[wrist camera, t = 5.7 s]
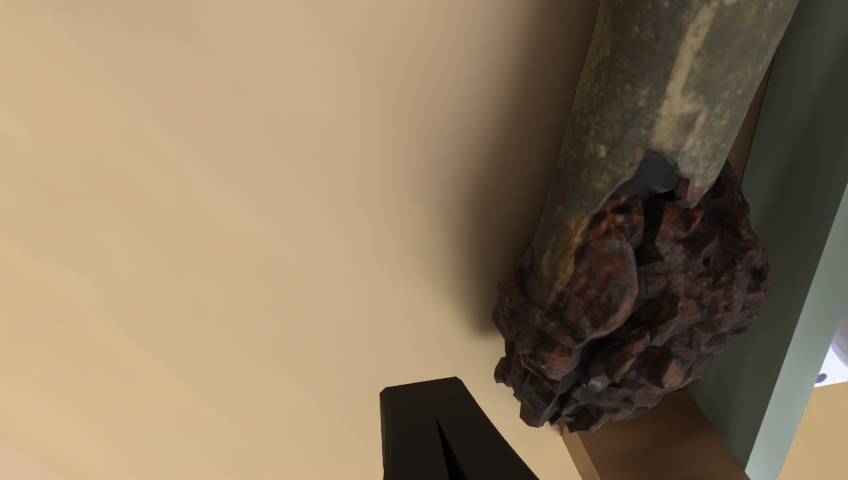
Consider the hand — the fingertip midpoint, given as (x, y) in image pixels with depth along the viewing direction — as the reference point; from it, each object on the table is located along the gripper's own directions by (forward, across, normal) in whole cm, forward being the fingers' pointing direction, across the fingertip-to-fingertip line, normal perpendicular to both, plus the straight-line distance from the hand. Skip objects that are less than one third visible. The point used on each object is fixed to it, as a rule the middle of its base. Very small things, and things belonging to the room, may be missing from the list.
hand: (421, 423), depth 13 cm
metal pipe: (+10, -8, -1) cm, 13 cm away
